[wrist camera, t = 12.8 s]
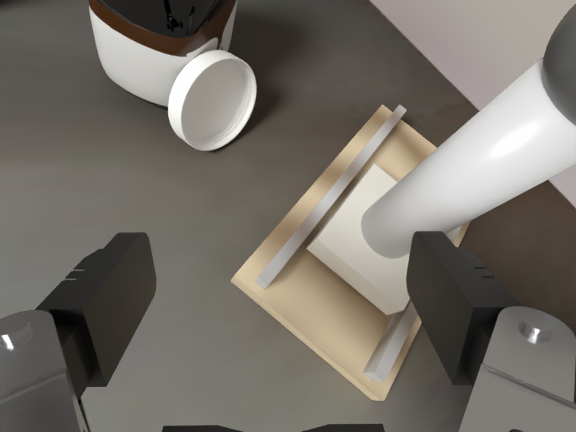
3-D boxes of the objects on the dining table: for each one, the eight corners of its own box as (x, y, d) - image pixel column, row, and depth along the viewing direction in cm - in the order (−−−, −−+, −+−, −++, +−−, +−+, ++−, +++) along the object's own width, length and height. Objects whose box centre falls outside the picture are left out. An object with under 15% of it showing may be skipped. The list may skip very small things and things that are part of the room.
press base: (371, 400, 24) (397, 402, 21) (230, 281, 24) (238, 268, 21) (474, 195, 34) (500, 179, 31) (374, 114, 34) (391, 92, 32)
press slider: (386, 315, 24) (922, 152, 7) (306, 248, 25) (631, -67, 7) (431, 233, 28) (846, 0, 11) (361, 176, 28) (658, -139, 11)
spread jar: (156, 16, 31) (151, -158, 21) (274, 76, 33) (322, -62, 23) (72, 109, 26) (10, -68, 16) (219, 178, 27) (250, 54, 17)
